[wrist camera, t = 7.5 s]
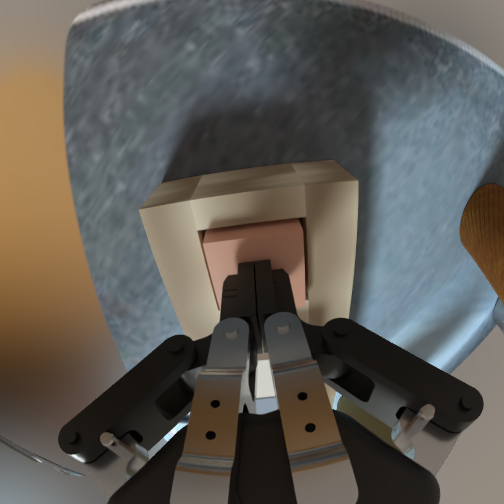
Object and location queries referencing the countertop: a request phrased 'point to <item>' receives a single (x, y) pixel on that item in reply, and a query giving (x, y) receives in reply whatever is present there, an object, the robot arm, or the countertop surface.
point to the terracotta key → (257, 251)
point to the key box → (252, 211)
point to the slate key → (266, 405)
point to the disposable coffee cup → (486, 233)
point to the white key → (264, 376)
